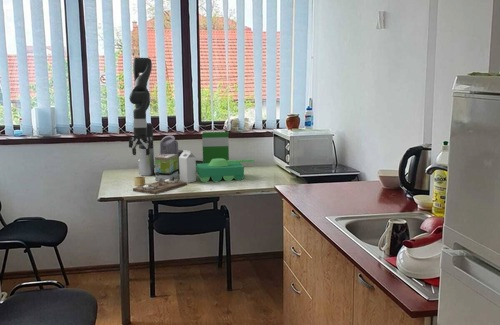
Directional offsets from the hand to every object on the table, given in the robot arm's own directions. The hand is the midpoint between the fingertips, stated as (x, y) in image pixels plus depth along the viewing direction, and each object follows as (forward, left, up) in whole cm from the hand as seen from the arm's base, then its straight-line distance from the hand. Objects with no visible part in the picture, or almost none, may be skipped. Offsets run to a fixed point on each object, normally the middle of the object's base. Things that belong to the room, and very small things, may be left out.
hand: (141, 155), depth 305 cm
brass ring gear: (-6, +4, -19) cm, 20 cm away
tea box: (-4, +26, -19) cm, 32 cm away
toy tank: (+28, +45, -19) cm, 56 cm away
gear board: (+10, +4, -19) cm, 22 cm away
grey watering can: (-16, +46, -19) cm, 52 cm away
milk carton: (+13, +25, -19) cm, 34 cm away
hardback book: (0, +73, -19) cm, 75 cm away
